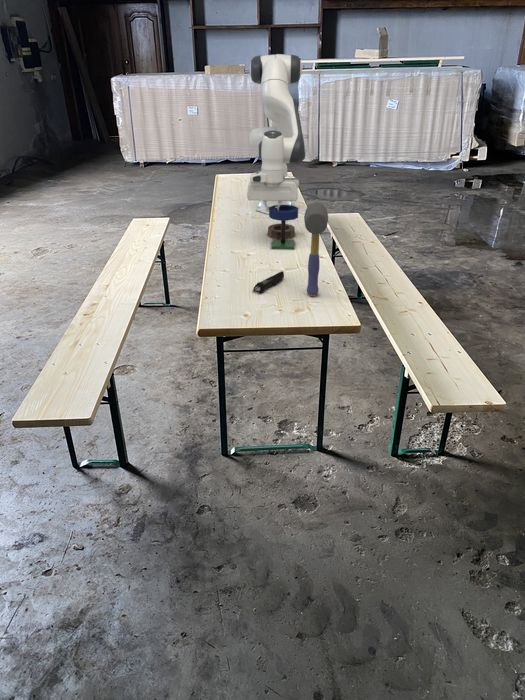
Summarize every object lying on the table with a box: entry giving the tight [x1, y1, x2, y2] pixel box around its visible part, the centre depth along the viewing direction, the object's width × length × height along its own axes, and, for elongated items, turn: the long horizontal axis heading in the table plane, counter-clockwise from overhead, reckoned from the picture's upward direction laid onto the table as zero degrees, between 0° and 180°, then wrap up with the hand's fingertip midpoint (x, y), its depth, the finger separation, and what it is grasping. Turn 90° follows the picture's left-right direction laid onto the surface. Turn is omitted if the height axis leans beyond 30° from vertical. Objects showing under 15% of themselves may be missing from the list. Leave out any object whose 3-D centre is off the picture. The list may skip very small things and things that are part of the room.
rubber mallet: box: [303, 201, 329, 297], centre depth 170 cm, size 12×8×30 cm, turn 175°
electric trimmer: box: [252, 271, 285, 294], centre depth 183 cm, size 4×16×3 cm, turn 144°
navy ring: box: [268, 204, 299, 222], centre depth 213 cm, size 12×12×3 cm
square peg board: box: [271, 220, 295, 250], centre depth 217 cm, size 9×9×13 cm
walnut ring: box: [267, 223, 296, 239], centre depth 231 cm, size 12×12×3 cm
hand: (272, 211), depth 213 cm, fingers closed on navy ring, 2 cm apart
